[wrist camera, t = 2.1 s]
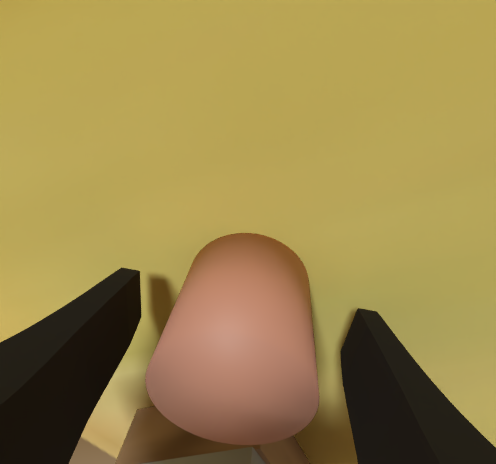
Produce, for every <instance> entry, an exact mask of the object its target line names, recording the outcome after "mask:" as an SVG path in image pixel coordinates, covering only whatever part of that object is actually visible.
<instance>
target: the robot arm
mask: <svg viewBox="0 0 496 464" xmlns="http://www.w3.org/2000/svg"><path fill="white" fill-rule="evenodd" d="M140 319H141V294H140V271H137V270H132V269H126V268H120V269H119V270H117V271H116V272H114V273H113V274H111V275H110V276H108V277H107V278H106V279H104V280H103V281H101V282H100V283H98V284H97V285H95V286H94V287H92V288H91V289H90V290H88V291H87V292H85V293H84V294H82V295H81V296H79V297H78V298H76V299H75V300H73V301H71V302H70V303H68V304H67V305H65V306H64V307H62V308H61V309H59V310H57V311H56V312H54V313H52V314H51V315H49V316H47V317H46V318H44V319H42V320H41V321H39V322H37V323H36V324H34V325H32V326H31V327H29V328H27V329H25V330H23V331H22V332H20V333H18V334H16V335H14V336H12V337H10V338H8V339H6V340H4V341H2V342H1V343H0V464H69V461H70V459H71V456H72V454H73V452H74V450H75V448H76V446H77V443H78V441H79V439H80V437H81V434H82V432H83V430H84V428H85V426H86V423H87V421H88V419H89V418H90V416H91V414H92V412H93V410H94V408H95V406H96V404H97V403H98V401H99V399H100V397H101V395H102V394H103V392H104V390H105V388H106V387H107V385H108V383H109V381H110V379H111V378H112V376H113V374H114V372H115V371H116V369H117V367H118V365H119V363H120V362H121V360H122V358H123V356H124V354H125V353H126V351H127V349H128V347H129V345H130V343H131V341H132V339H133V336H134V334H135V331H136V329H137V326H138V324H139V321H140ZM341 368H342V380H343V387H344V392H345V398H346V403H347V408H348V413H349V418H350V423H351V428H352V433H353V439H354V444H355V449H356V454H357V460H358V464H496V448H495V447H494V446H493V445H492V444H491V443H490V442H489V441H488V440H487V439H486V438H485V437H484V436H483V435H482V434H481V433H480V432H479V431H478V430H477V429H476V428H475V427H474V426H473V425H472V424H471V423H470V422H469V421H468V420H467V419H466V418H465V417H464V416H463V415H462V414H461V413H460V412H459V411H458V410H457V409H456V408H455V407H454V405H453V404H452V403H451V402H450V401H449V400H448V399H447V398H446V397H445V395H444V394H443V393H442V392H441V391H440V390H439V389H438V388H437V386H436V385H435V384H434V383H433V382H432V381H431V379H430V378H429V377H428V376H427V375H426V374H425V372H424V371H423V370H422V369H421V368H420V366H419V365H418V364H417V363H416V361H415V360H414V359H413V358H412V356H411V355H410V354H409V353H408V351H407V350H406V349H405V347H404V346H403V345H402V344H401V342H400V341H399V340H398V338H397V337H396V336H395V334H394V333H393V332H392V331H391V329H390V328H389V327H388V325H387V324H386V323H385V321H384V320H383V319H382V317H381V316H380V315H379V314H378V312H376V311H370V310H364V309H359V308H358V310H357V312H356V314H355V317H354V319H353V322H352V324H351V327H350V329H349V332H348V334H347V337H346V339H345V342H344V344H343V347H342V349H341Z"/></svg>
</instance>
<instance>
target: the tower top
mask: <svg viewBox="0 0 496 464" xmlns="http://www.w3.org/2000/svg"><path fill="white" fill-rule="evenodd" d="M143 464H266V463H265V462H264V461H263V460H262V458H261V457H260V456H259V454H258V453H257V452H256V451H255V449H254V448H253V447H247V448H241V449H234V450H228V451H221V452H214V453H208V454H201V455H194V456H188V457H181V458H175V459H168V460H163V461H156V462H150V463H143Z"/></svg>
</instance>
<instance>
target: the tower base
mask: <svg viewBox="0 0 496 464" xmlns="http://www.w3.org/2000/svg"><path fill="white" fill-rule="evenodd" d="M247 447H253V448H254V449H255V451H256V452H257V453H258V454H259V456H260V457H261V458H262V460H263V461H264V462H265V463H266V464H310V463H309V461H308V459H307V458H306V456H305V454H304V453H303V451H302V449H301V448H300V446H299V444H298V442H297V441H296V439H295V437H294V436H291V437H289V438H286V439H283V440H280V441H277V442H273V443H267V444H260V445H234V444H226V443H220V442H216V441H212V440H208V439H205V438H202V437H199V436H197V435H194V434H192V433H190V432H188V431H185V430H184V429H182V428H180V427H178V426H177V425H175V424H174V423H172V422H171V421H170V420H168V419H167V418H166V417H165V416H164V415H163V414H162V413H161V412H160V411H159V410H158V409H157V408H156V406H153V407H148V408H142V409H137V411H136V414H135V416H134V419H133V421H132V423H131V426H130V428H129V431H128V433H127V436H126V438H125V440H124V443H123V445H122V448H121V450H120V452H119V455H118V457H117V460H116V462H115V464H143V463H150V462H156V461H163V460H168V459H175V458H181V457H188V456H194V455H201V454H208V453H214V452H221V451H228V450H234V449H241V448H247Z"/></svg>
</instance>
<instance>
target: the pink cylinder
mask: <svg viewBox="0 0 496 464" xmlns="http://www.w3.org/2000/svg"><path fill="white" fill-rule="evenodd" d="M145 382H146V389H147V392H148V395H149V397H150V399H151V401H152V402H153V404H154V405H155V406H156V408H157V409H158V410H159V411H160V412H161V413H162V414H163V415H164V416H165V417H166V418H167V419H168V420H170V421H171V422H172V423H174V424H175V425H177V426H178V427H180V428H182V429H184V430H185V431H188V432H190V433H192V434H194V435H197V436H199V437H202V438H205V439H208V440H212V441H216V442H220V443H226V444H234V445H260V444H267V443H273V442H277V441H280V440H283V439H286V438H289V437H291V436H293V435H295V434H297V433H298V432H300V431H301V430H303V429H304V428H305V427H306V426H307V425H308V424H309V423H310V422H311V421H312V419H313V418H314V416H315V414H316V412H317V409H318V406H319V388H318V377H317V366H316V355H315V344H314V334H313V323H312V312H311V301H310V290H309V280H308V275H307V271H306V269H305V267H304V264H303V263H302V261H301V260H300V258H299V257H298V256H297V255H296V254H295V253H294V252H293V251H292V250H291V249H290V248H289V247H287V246H286V245H284V244H283V243H281V242H279V241H277V240H275V239H273V238H270V237H267V236H264V235H259V234H252V233H237V234H231V235H226V236H223V237H220V238H218V239H216V240H214V241H212V242H210V243H209V244H207V245H206V246H205V247H204V248H203V249H202V250H201V251H200V252H199V253H198V254H197V256H196V257H195V259H194V261H193V263H192V266H191V268H190V270H189V272H188V275H187V277H186V279H185V282H184V284H183V286H182V289H181V291H180V293H179V296H178V298H177V300H176V303H175V305H174V307H173V310H172V312H171V314H170V317H169V319H168V321H167V324H166V326H165V328H164V331H163V333H162V335H161V337H160V340H159V342H158V344H157V347H156V349H155V351H154V354H153V356H152V358H151V361H150V363H149V365H148V368H147V372H146V379H145Z"/></svg>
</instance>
